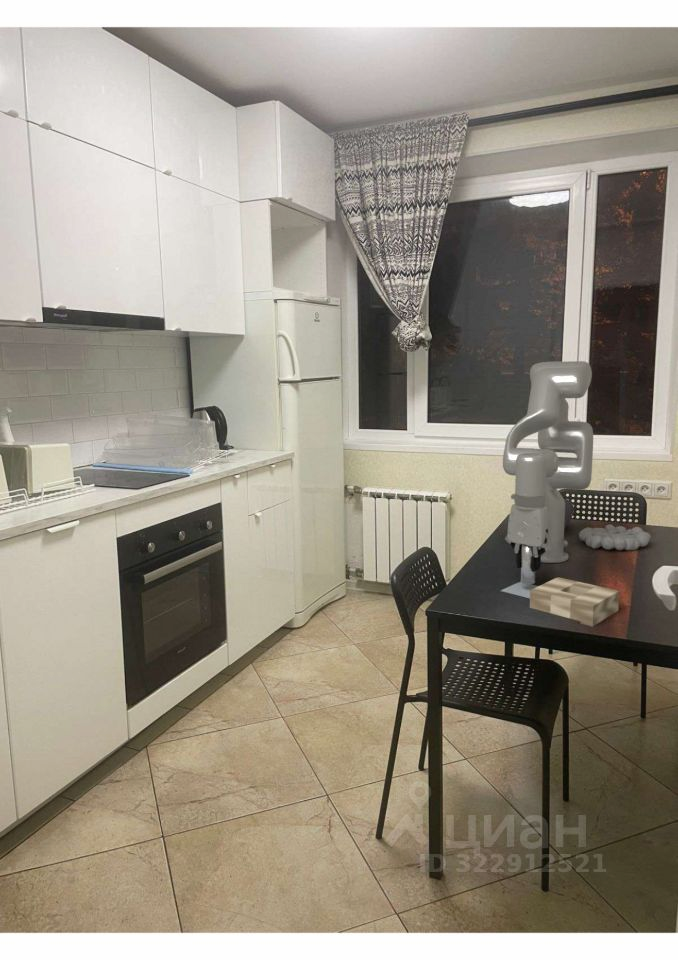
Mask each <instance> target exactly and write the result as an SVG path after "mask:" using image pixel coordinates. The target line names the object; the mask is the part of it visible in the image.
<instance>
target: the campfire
mask: <svg viewBox="0 0 678 960" xmlns="http://www.w3.org/2000/svg"><path fill="white" fill-rule="evenodd" d="M578 537H579V540H580V541H582V542H585V544H586V546H587V547H590V548H592V549H598V548H601V547H602V548H603V549H605V550H611V549H616V550H617V551H622V550H624V551H636V550H637V549H639V547H642V548H645V546H648V543H650V540H651V534H650V533H648V532H646V531H644V530H643V529H642V528H641V527H640V526H636V527H633V528H630V529H627V528H626V527H625V526H621V525H619V526H614V525H612V524H607V525H605V528H603V527H594V528H592V527H590V526H589V527H588V526H587V527H585V528H583V529H582V530H580V532H579V533H578Z"/></svg>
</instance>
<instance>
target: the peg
mask: <svg viewBox="0 0 678 960" xmlns="http://www.w3.org/2000/svg"><path fill="white" fill-rule="evenodd" d="M533 556H534V554H533V547H532V546H527V545H522V550H521V568H520V582H522V583H524V584H532V585H535V583H536V571H535V572H532V571H531V559H532V557H533Z"/></svg>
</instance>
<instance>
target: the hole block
mask: <svg viewBox="0 0 678 960" xmlns="http://www.w3.org/2000/svg"><path fill="white" fill-rule="evenodd" d="M537 586H538V587H536V588H534V589H532V590H530V598H529V608H530V609H532V610H533V609H534V610H536V611H540V612H545V613H549V614H552V615H556V616H560V617H563V618H567V619H571V620H575V621H577V623H578V624H581V625H585V626H589V627H594V626H596V625H597V624H599V623H601V622H602V621H603V620H606V619H607V618H608V617H611V616H612V615H614V614H615V613H617V612H618V611H619V606H620V605H619V603H620V590H617V589H613V588H608V587H605V586H604V587H603V586H599V585H595V584H590V583H586V582H581V581H578V580H572V579H568V578H563V577H559V576H558V577H554V578H553V579H551V580H549V581H546V582H545V583H543V584H541V585H537Z"/></svg>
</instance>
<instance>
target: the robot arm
mask: <svg viewBox="0 0 678 960" xmlns="http://www.w3.org/2000/svg"><path fill="white" fill-rule="evenodd" d="M592 371H593V370H592V367H591V365H590V364H589V362H586V361H582V360H581V361H580V360H579V361H576V360H575V361H543V362H538V363H535V364H533V365H532V366H531V367H530V371H529V378H530V383H531V385H530V391H529V392H530V393H529V397H528V398H529V399H528V405H527V412H526V414H525V416H523V417H522V418H521V419H520V420H518V422H517V423H515V425H514V426H513V427H512V428H511V429H510V431H509V433H508V434H507V436H506V439H505V444H504V450H503V455H502V468H503V470H504V472H505V473H506V474H507V475H509V476H514V477H515V479H514V480H515V484H514V485H515V486H514V487H515V488H514V490H515V491H514V493H512V494H511V496H510V499H512V500H514V504H511V507H510V511H509V514H508V523H507V532H508V534H507V533H506V536H505V538H504V540H505V542H507V543H508V544H509V545H510V546H511V547H512V549H513V551H514V553H515V556H516V557H515V559H516V560H515V563H516V568H517V569H521V550H522V545H527V546H532V547H533V554H534V556H533V557H532V559H531V571H532V572H535V573H536V572H537V571H539V570H540V568H541V564H542V563H546V564H549V563H550V564H552V563H554V564H555V563H563V562H566V561H567V560H568V559H569V554H568V553H567V552H565V551H564V548H565V547H568V546H569V542H568V541H567V540H565V528H564V522H565V501H564V499H563V497H564V496H562V494H561V493H560V491H558V490H561V489H562V490H563V489H565V490H586V489H588V488H589V486H591V485H590V484H591V481H592V476H593V475H592V474H593V472H592V471H593V457H594V456H593V455H594V431H593V427H592V425H591V424H590V423H588V422H586V421H581V420H579V421H578V420H575V421H573V420H569V408H570V407H569V403H568V401H567V399H581V398H583V397H584V396H585V395H586V393H587V391H588V389H589V387H590V385H591V382H592V377H593V372H592ZM533 434H537V445H538V448H535V447H534V448H533V447H532V448H531V447H530V448H529V447H528V448H527V447H518V446H519V444H520V443H521V441H522V440H524V439H525V438H527V437H529V436H531V435H533ZM557 453H561V454H562V453H566V454H574V455H576V457H570V456H569V457H567V456H566V457H565V456H558V455H557Z"/></svg>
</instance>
